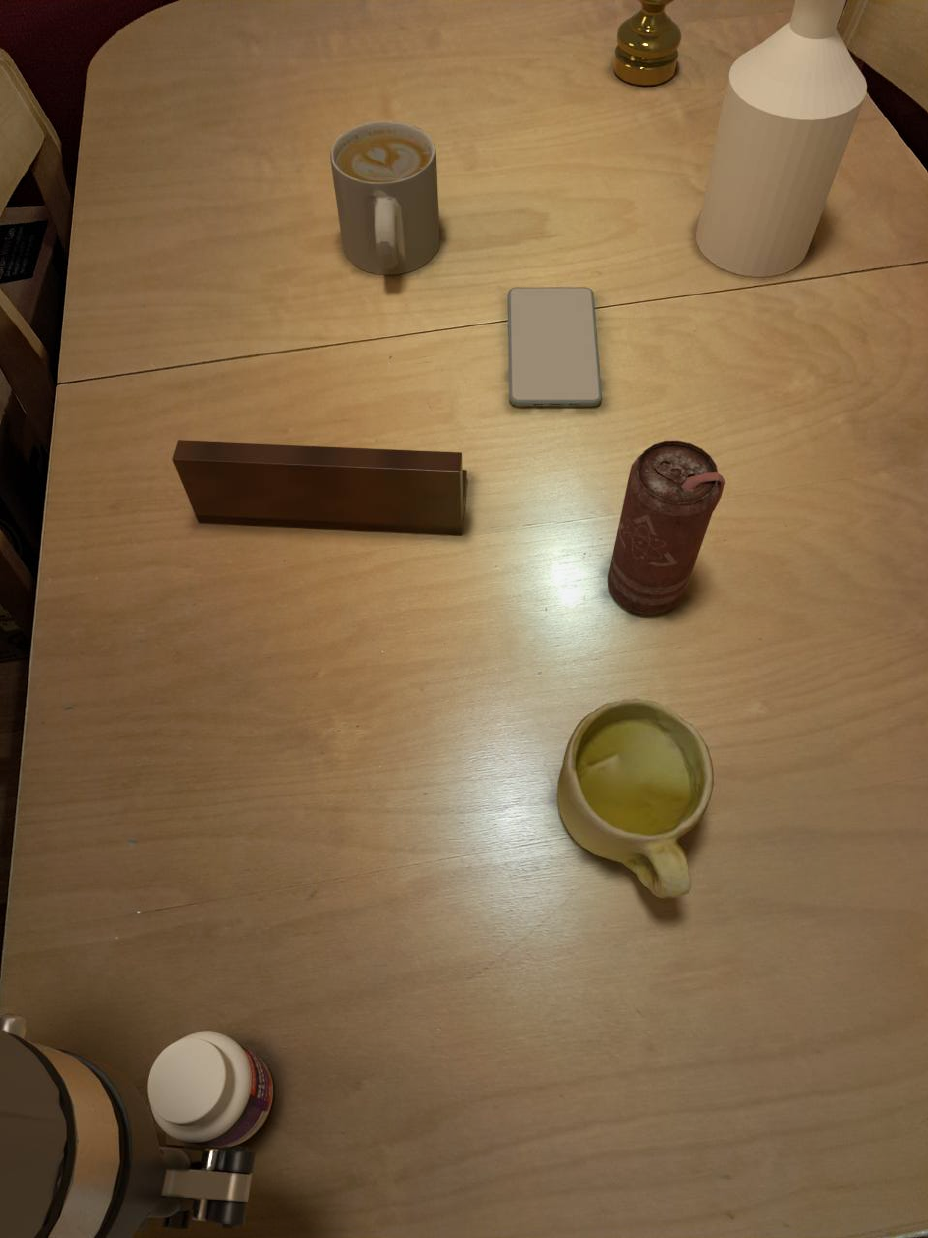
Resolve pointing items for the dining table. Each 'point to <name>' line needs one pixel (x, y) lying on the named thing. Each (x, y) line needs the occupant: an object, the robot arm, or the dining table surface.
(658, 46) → the salt shaker
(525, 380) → the smartphone
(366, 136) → the coffee mug
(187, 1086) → the pill bottle
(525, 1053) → the dining table surface
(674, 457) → the can
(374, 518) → the brown long rectangular block
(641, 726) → the mug
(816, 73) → the bottle
